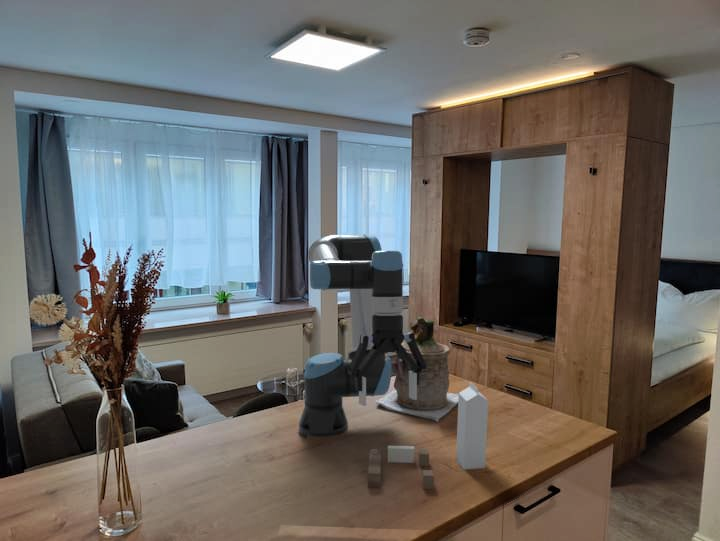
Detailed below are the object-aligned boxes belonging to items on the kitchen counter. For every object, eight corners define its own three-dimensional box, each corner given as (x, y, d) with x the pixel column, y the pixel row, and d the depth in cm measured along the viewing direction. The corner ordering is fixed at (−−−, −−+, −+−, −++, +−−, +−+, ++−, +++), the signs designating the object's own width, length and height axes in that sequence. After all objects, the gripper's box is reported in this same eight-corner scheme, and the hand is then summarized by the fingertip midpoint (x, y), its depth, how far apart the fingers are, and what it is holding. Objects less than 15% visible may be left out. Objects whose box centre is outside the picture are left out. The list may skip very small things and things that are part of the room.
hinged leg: (368, 462, 128) (369, 448, 128) (380, 462, 128) (380, 449, 128) (368, 487, 116) (368, 472, 116) (380, 487, 116) (380, 472, 116)
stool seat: (363, 494, 116) (363, 474, 115) (365, 462, 131) (365, 444, 130) (435, 497, 115) (435, 476, 114) (428, 464, 130) (429, 446, 129)
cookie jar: (465, 400, 176) (468, 313, 172) (438, 424, 155) (442, 326, 152) (404, 386, 189) (406, 306, 185) (372, 407, 168) (374, 317, 165)
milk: (476, 457, 134) (480, 380, 132) (485, 468, 129) (489, 388, 126) (455, 458, 134) (458, 381, 131) (463, 470, 128) (467, 389, 125)
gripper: (345, 317, 110) (345, 411, 109) (439, 313, 119) (440, 399, 119) (334, 314, 117) (334, 403, 116) (424, 311, 126) (425, 393, 126)
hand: (388, 401), depth 118 cm, fingers open, 13 cm apart
